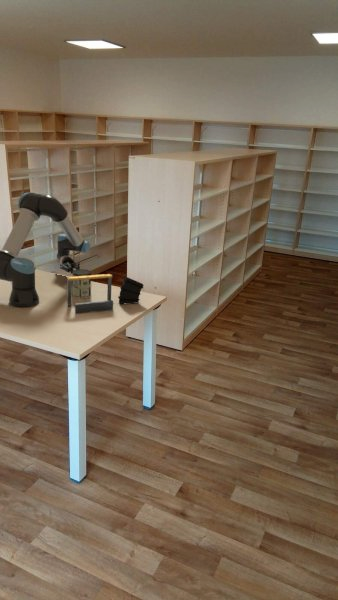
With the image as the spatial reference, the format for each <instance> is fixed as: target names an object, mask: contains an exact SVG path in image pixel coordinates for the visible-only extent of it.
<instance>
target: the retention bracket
mask: <svg viewBox="0 0 338 600" xmlns="http://www.w3.org/2000/svg"><path fill="white" fill-rule="evenodd" d="M112 278H113V274H111V273H107V274H106V273H105V274H104V273H103V274H91V275H88V276H73V275H72V276H67V277H66V279H67V280H66V281H67V282H66V285H67V286H66V287H67V288H66V289H67V295H66V296H67V309H71V308H72V281H73V280H83V279H91V280H95V279H107V293H106V294H107V295H106V296H107V299H106V300H99V301H90V302H78V303H74V313H75V314H76V315H77V314H86V313H87V314H88V313H96V312H105V311H106V310H107V311H113V310H114V300H113V299H112V281H113V279H112Z"/></svg>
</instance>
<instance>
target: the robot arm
mask: <svg viewBox="0 0 338 600" xmlns="http://www.w3.org/2000/svg"><path fill="white" fill-rule="evenodd" d="M17 203H18V204H17V206H18V207H17V208H18V212H19V215H18V217H17V219H16V221H15V223H14V224H13V227H12V229H11V231H10V232H9V235H8V237H6V238H7V239H6V241H5V243H4V245H3V246H2V248H1V249H0V280H2V281H4V282H5V281H7V282H10V283H11V293H10V295H9V299H8V302H9V305H10V306H12V307H17V308H30V307H34V306H36V305H38V304H39V303H40V297H39V294H38V291H37V289H36V268H35V262H34V261H32V260H31V259H29V258H26V257H18V256H19V254H20V252H21V249H22V248H23V246H24V243H25V242H26V240H27V238H28V236H29V233H30V232H31V229H32V228H33V226H34V223H35V222H37V221H39V220H40V218H41V216H43V217H49V218H50V219H51V220H52V221H53V222H55V223H56V224H57V225H58V227H59V228H60V229H61V231H62V232H63V233H59V234H58V235H57V242H56V243H57V253H56V259H57V262H58V263H60V264H59V269H60V270H63V271H65V272H67V273H70V274H72V275H73V271H74V270H79V269H81V263H80V262H78V263H76V262H75V261H74V259H73V258H72V257H71V256H70V255H71V254H70V251H71V252H75V253H76V252H77V253H83V254H88V253H89V252H90V250H91V243H90V242H89V241H87V240H84V239H83V237H82V235H81V234H80V232H79V230H78V229H77V227H76V226H75V225H74V223H73V222H72V220H71V218H70V216H69V213H68V209H66V207H65V206H64V205H63V204H62V203H61V201H59V200H58V199H57V198H56V197H54V196H52V195H49V194H42V193H36V192H25V193H23V194H22V195H20V196H19V198H18V201H17Z"/></svg>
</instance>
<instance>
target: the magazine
mask: <svg viewBox="0 0 338 600" xmlns="http://www.w3.org/2000/svg"><path fill="white" fill-rule="evenodd" d="M142 289H144V284H143V283H142V282H140V281H137V280H134V279H133V278H130V277H128V276H126V277H125V278H123V282H122V285H121V286H120V290H119V295H118V297H117V298H118V303H119V304H120V305H125V304H124V303H131V304H135V303H134V302H138V303H139V301H141V300H140V296H141V291H142Z"/></svg>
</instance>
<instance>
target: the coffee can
mask: <svg viewBox="0 0 338 600" xmlns="http://www.w3.org/2000/svg"><path fill="white" fill-rule="evenodd" d="M88 275H92V271H91V270H89V269H83V268H82V269H81V268H80V269H79V270H74V271H73V274H72V277H73V276H88ZM72 296H73V297H74V298H77V299H88V298H90V297H92V279H83V280H72Z"/></svg>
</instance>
